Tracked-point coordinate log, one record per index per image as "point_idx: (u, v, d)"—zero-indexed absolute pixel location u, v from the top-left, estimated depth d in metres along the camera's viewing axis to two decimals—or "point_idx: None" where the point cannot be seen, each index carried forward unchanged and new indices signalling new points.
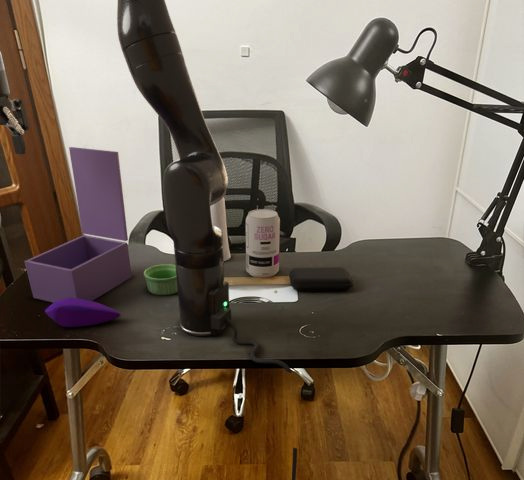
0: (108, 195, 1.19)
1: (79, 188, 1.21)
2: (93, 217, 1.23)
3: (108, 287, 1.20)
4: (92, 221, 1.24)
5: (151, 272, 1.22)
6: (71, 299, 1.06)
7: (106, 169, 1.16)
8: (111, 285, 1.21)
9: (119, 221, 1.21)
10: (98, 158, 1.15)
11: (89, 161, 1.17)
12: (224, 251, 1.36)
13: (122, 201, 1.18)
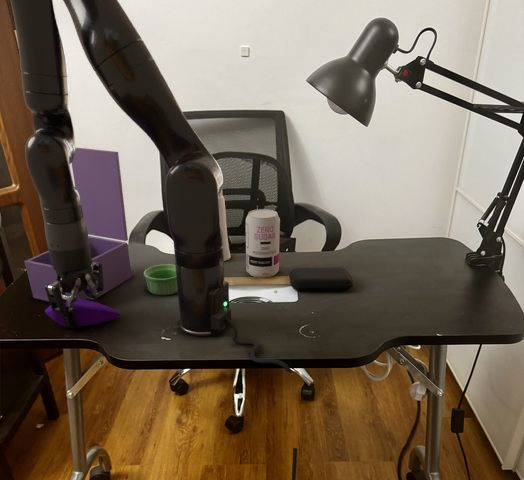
0: (108, 195, 1.19)
1: (79, 188, 1.21)
2: (93, 217, 1.23)
3: (108, 287, 1.20)
4: (92, 221, 1.24)
5: (151, 272, 1.22)
6: None
7: (106, 169, 1.16)
8: (111, 285, 1.21)
9: (119, 221, 1.21)
10: (98, 158, 1.15)
11: (89, 161, 1.17)
12: (224, 251, 1.36)
13: (122, 201, 1.18)
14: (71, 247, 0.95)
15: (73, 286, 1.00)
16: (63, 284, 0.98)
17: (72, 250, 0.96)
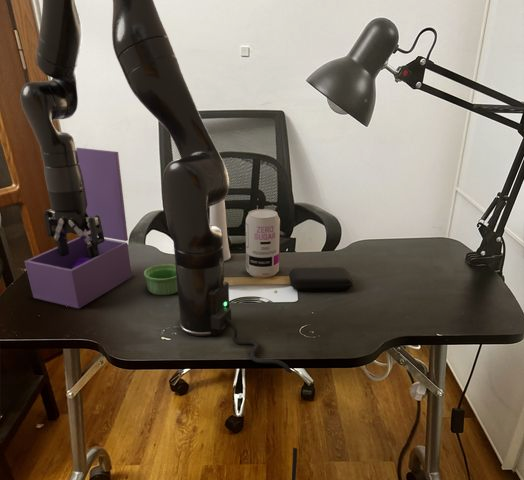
0: (108, 195, 1.19)
1: None
2: None
3: (108, 287, 1.20)
4: None
5: (151, 272, 1.22)
6: None
7: (106, 169, 1.16)
8: (111, 285, 1.21)
9: (119, 221, 1.21)
10: (98, 158, 1.15)
11: (89, 161, 1.17)
12: (224, 251, 1.36)
13: (122, 201, 1.18)
14: (47, 187, 1.09)
15: None
16: None
17: None
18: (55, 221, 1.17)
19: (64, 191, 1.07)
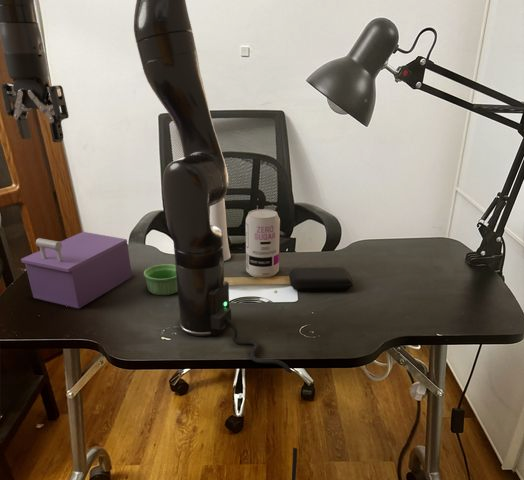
0: None
1: None
2: None
3: (108, 287, 1.20)
4: None
5: (151, 272, 1.22)
6: None
7: None
8: (111, 285, 1.21)
9: None
10: None
11: None
12: (224, 251, 1.36)
13: (101, 253, 1.16)
14: None
15: None
16: None
17: None
18: (15, 98, 1.07)
19: (21, 52, 0.97)
